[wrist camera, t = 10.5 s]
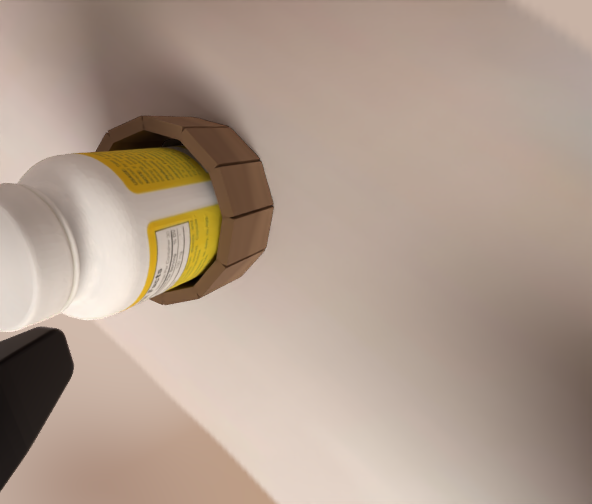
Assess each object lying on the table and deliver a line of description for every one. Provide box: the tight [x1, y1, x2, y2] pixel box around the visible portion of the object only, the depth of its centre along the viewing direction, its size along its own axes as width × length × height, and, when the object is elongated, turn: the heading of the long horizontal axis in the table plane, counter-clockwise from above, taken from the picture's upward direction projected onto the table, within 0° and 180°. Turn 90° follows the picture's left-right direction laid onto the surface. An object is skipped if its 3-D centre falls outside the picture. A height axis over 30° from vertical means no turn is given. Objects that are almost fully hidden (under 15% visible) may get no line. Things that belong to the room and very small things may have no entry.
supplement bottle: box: [0, 146, 222, 332], centre depth 17 cm, size 5×5×10 cm
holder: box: [96, 116, 274, 305], centre depth 20 cm, size 7×7×3 cm
